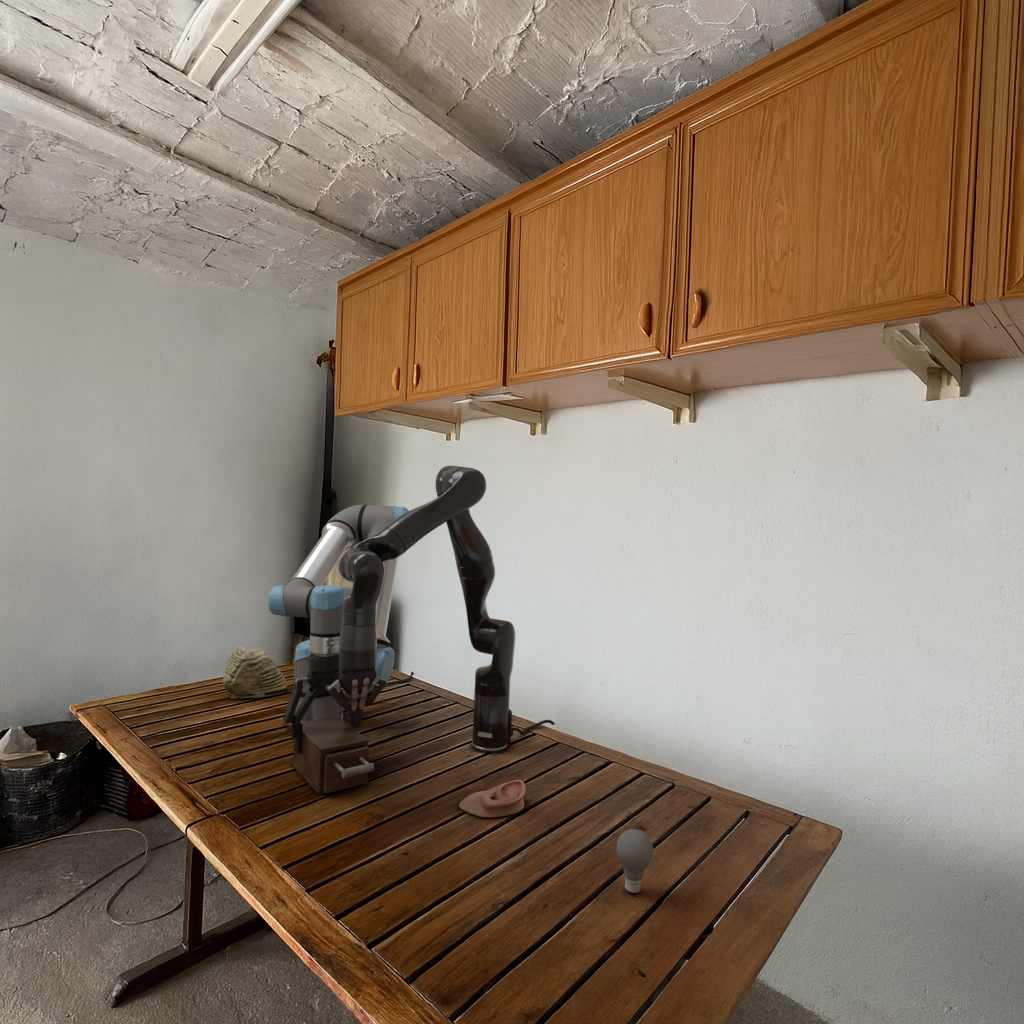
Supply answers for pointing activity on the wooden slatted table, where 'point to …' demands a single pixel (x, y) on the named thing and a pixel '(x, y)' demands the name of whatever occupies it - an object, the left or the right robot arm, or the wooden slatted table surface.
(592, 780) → the wooden slatted table surface
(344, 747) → the cabinet
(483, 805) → the anatomical model
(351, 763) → the drawer
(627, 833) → the light bulb
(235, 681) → the fossil
